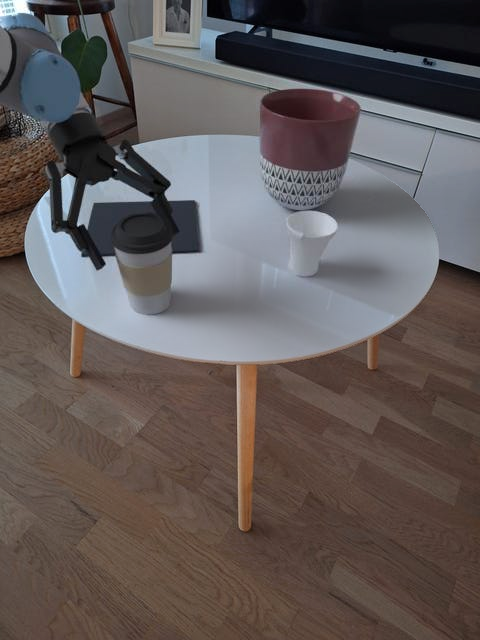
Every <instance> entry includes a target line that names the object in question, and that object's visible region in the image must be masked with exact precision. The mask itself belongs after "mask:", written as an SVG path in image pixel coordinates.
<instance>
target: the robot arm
mask: <svg viewBox="0 0 480 640" xmlns="http://www.w3.org/2000/svg"><path fill="white" fill-rule="evenodd" d="M78 75H79V74H78V73H77V71H76V69H75V68H74V66H73V65H72V64H71V62H70V61H68V60H67V59H66V57H63V55H62V53H61V51H60V50H59V46H58V44H57V43H56V41H55V39H54V38H53V37H52V36H51V34H50V32H49V31H48V29H47V28H46V26H45V24H44V23H43V22H42V21H41V19H40V18H39V17H37V16H35V15H34V14H31V13H27V12H18V13H16V14H15V15H11V14H9V15H7V16H5V17H3V18H2V19H1V20H0V106H1V107H4V108H7V109H10V110H13V111H15V112H18V113H20V114H23V115H26V116H28V117H30V118H32V119H34V120H37V121H39V122H40V124H41V126H42V128H43V130H44V132H46V133H47V134H48V138H49V141H50V142H51V144H52V146H53V148H54V149H55V151H56V153H57V155H58V157H59V158H60V159H61V162H55V161H53V160H48V161H47V163H46V166H45V168H44V174H45V177H46V179H47V181H48V184H49V185H48V186H49V205H50V206H49V209H50V229H51V231H52V232H53V233H54V234H58V233H63V232H64V233H65V234H66V235H69V237H70V238H71V240H72V242H73V243H74V246H75V247H76V249H77V250H78V251H79V252H80V253H82V251H84V250H85V251H86V252H87V254H88V258H89V260H90V262H91V264H92V265H93V267H94V269H95V271H96V272H98V271H101V270H102V269H103V268H104V267H105V266H106V265H107V263H106V261H105V259H104V258H103V256H101V254H100V252H99V250H98V249H97V247H96V245H95V243H94V242H93V240H92V238H91V236H90V234H89V233H88V231H87V229H88V228H87V227H86V226H85V224H84V223H81V224H80V225H78V221H79V217H80V214H81V213H80V212H81V207H82V204H83V199H84V194H85V191H86V186H87V185H88V186H90V187H93V186H95V185H96V186H97V184H98V183H105V182H107V181H110V179H112V180H114V181H118V182H121V183H123V184H124V185H127V186H129V187H130V188H132V189H134V190H136V191H138V192H140V193H142V194H143V195H145V196H147V197H149V198H151V199H152V200H151V201H152V202H151V205H152V207H153V209H154V210H155V212H156V214H157V215H159V216H160V218H161V219H162V221H164V222H165V223H167V224H168V225H169V227H170V228H171V232H172V235H173V237H174V236H175V235H176V234H177V233H179V232H180V231H179V229H178V227H177V225H176V223H175V222H174V220H173V218H172V216H171V213H172V212H173V210H172V208H171V206H170V204H169V202H168V201H169V200H168V199H167V196H166V191H168V190H169V188H170V187H171V186H172V183H171V181H170V180H169V179H168V178H167V177H166V176H165V175H163V174H162V173H161V172H160V171H159V170H157V169H156V168H155V167H154V166H153V165H151V163H149V162H148V160H146V159H145V158H143V156H141V155H140V154H139V153H138V152H137V151H135V149H134V147H133V146H132V144H131V143H130V141H129V140H128V139H122V141H121V142H120V143H119V144H117V145H115V146H112V145H111V144H109V142H108V141H107V138H106V134H105V133H104V131H103V129H102V127H101V126H100V124H99V121H98V120H97V118H96V116H95V115H94V114H92V109H91V107H90V105H89V103H88V101H87V99H86V98H85V97H84V94H83V93H82V91H81V89H82V88H81V81H80V78H79V76H78ZM117 157H118V158H119V159H120V160H123V161H124V162H125V163H126V164H127V165H128V166H129V167H130V168H131V169H132V170H131V169H130V168H128V167H127V165H125V164H124V163H123V162H121V161H119V160H118V159H116V158H117ZM133 170H134V171H133ZM64 172H65V173H66V174H68V175H70V176H71V177H73V178H74V179H75V180H74V185H73V189H72V195H71V199H70V204H69V208H68V213H67V218H66V219H65V220H64V212H63V210H64V208H63V189H62V186H63V185H62V179H63V177H64Z"/></svg>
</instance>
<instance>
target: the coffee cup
mask: <svg viewBox="0 0 480 640" xmlns="http://www.w3.org/2000/svg"><path fill="white" fill-rule="evenodd" d="M172 237H173V235H172V232H171V228H170V227H169V225H168V224H167V223H165V222H164V221H162V219H161V218H160V216H159V215H157V214H155V213H152V212H147V213H144V214H133V215H129V216H126V217H124V218H122V219H121V220H120V221H119V222H118V224H117V225H115V227H114V228H113V230H112V237H111V243H112V245H113V246H114V248H115V255H114V256H115V259H116V260H115V261H116V263H117V267H118V270H119V273H120V278H121V280H122V281H121V282H122V284H123V287H124V290H125V293H126V296H127V299H128V303H129V307H130V308H131V309H132V311H134V312H135V313H138V314H140V315H145V316H150V315H151V316H153V315H157V314H160V313H162V312H164V311H166V310H167V309H168V308H169V307H170V306H171V303H172V283H173V253H172V247H171V241H172Z"/></svg>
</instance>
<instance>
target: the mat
mask: <svg viewBox="0 0 480 640" xmlns="http://www.w3.org/2000/svg"><path fill="white" fill-rule="evenodd" d="M152 201H153V200H150V201H149V200H148V201H146V200H145V201H144V200H143V201H108V202H105V201H104V202H93V204H92V208H91V211H90V216H89V221H88V225H87V228H86V229H87V231H88V233H89V234H90V236H91V238H92V240H93V242H94V243H95V245H96V247H97V249H98V250H99V252H100V254H101V256H102V257H111V256H112V257H113V256H115V248H114V246H113V245H112V243H111V237H112V230H113V228H114V227H115V225H117V224H118V222H119V221H120V220H121V219H122V218H124V217H126V216H129V215H133V214H144V213H147V212H152V213H155V214H156V212H155V210H154V209H153V207H152V205H151V202H152ZM168 202H169V204H170V206H171V208H172V210H173V212H172V213H171V216H172V218H173V220H174V222H175V223H176V225H177V227H178V229H179V231H180V232H179V233H177V234H176V235H175V236H174V237H172V241H171V247H172V254H188V253H189V254H190V253H191V254H192V253H193V254H194V253H200V252H201V251H200V241H199V240H200V238H199V228H198V227H199V226H198V219H197V218H198V217H197V209H196V200H195V199H187V200H184V199H183V200H181V199H179V200H168ZM80 253H81V254H80V256H81V257H83V258H85V257H87V258H89V256H88V254H87V252H86V251H85V250H84V251H82V252H80Z"/></svg>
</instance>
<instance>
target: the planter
mask: <svg viewBox="0 0 480 640" xmlns="http://www.w3.org/2000/svg"><path fill="white" fill-rule="evenodd" d="M361 110H362V107H361V105H360V104H359V102H357V101H356V100H354V99H353V98H351V97H350V96H346V95H344V94H341V93H338V92H334V91H329V90H325V89H324V90H323V89H316V88H287V89H285V88H284V89H279V90H275V91H271V92H268V93H266V94H265V95H263V96H262V97H261V99H260V102H259V171H260V177H261V180H262V184H263V187H264V189H265V190H266V192H267V194H268V195H269V196H270V197H271V198H272V199H273V200H274V202H276V203H278V205H280V206H282V207H284V208H286V209H289V210H293V211H294V210H295V211H310V210H312V209H316V208H318V207H320V206H322V205H324V204H325V203H327V202H328V201H329V200H330V199H331V198H333V196H334V195H336V192H337V191H338V189H339V188H340V186H341V184H342V182H343V179H344V177H345V174H346V172H347V167H348V163H349V159H350V156H351V152H352V147H353V143H354V139H355V135H356V131H357V127H358V124H359V121H360V120H359V119H360V115H361Z"/></svg>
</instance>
